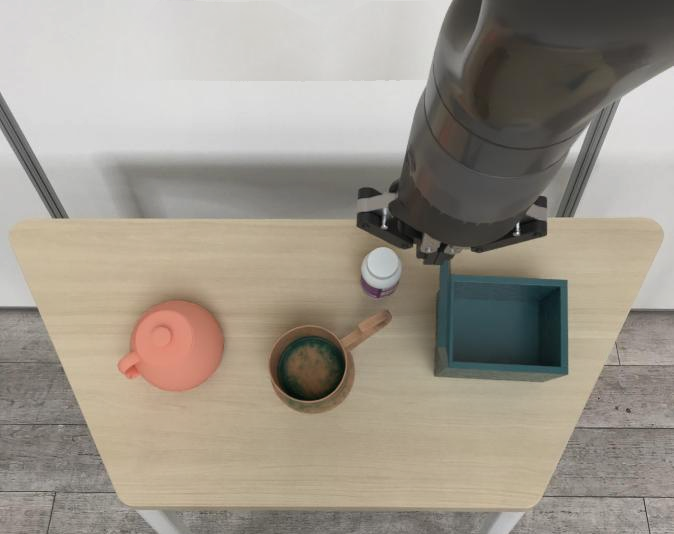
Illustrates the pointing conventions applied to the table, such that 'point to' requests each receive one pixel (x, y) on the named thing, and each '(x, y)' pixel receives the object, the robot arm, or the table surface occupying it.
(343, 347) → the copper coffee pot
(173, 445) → the table surface
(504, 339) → the teal storage bin
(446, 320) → the lid
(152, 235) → the table surface
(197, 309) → the sugar bowl
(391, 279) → the pill bottle
